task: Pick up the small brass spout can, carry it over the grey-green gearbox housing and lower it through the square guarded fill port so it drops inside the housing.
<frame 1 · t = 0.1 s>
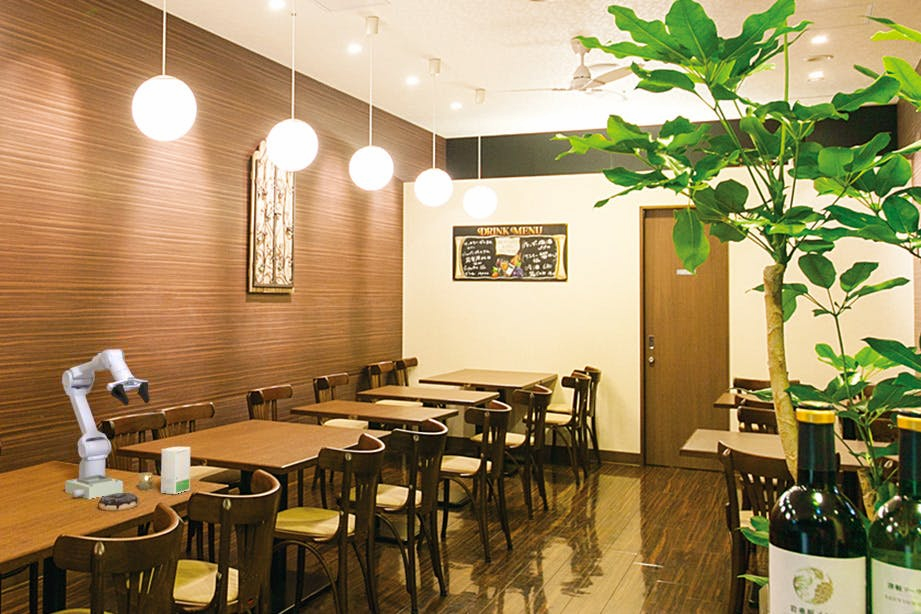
hand: (137, 402, 257), 32 cm above the table, tool tilted 50°, fingers open, 7 cm apart
donut: (119, 508, 239), on the table
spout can: (145, 489, 263), on the table
skincare box: (175, 492, 260), on the table
gearbox: (94, 492, 257), on the table
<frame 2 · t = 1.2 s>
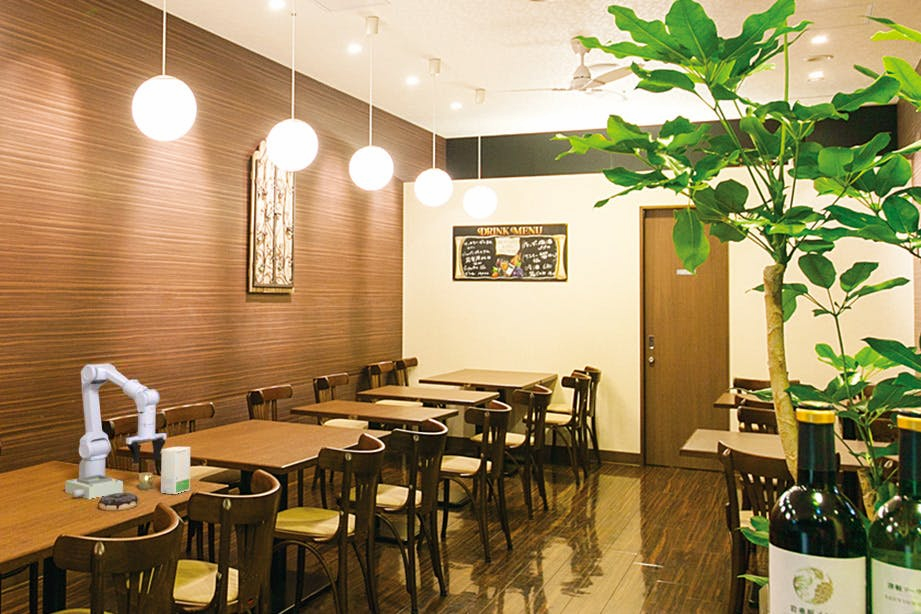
hand: (146, 461, 263), 10 cm above the table, tool pointing down, fingers open, 7 cm apart
nothing on the table moved.
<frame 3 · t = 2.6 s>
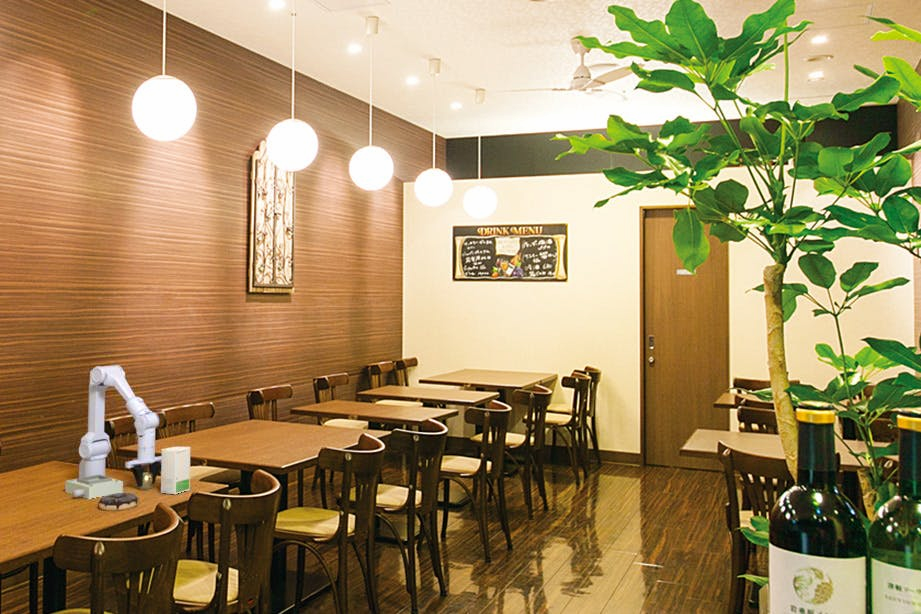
hand: (145, 484, 263), 1 cm above the table, tool pointing down, fingers closed on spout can, 4 cm apart
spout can: (145, 488, 263), on the table, touching gripper
everything else where it was.
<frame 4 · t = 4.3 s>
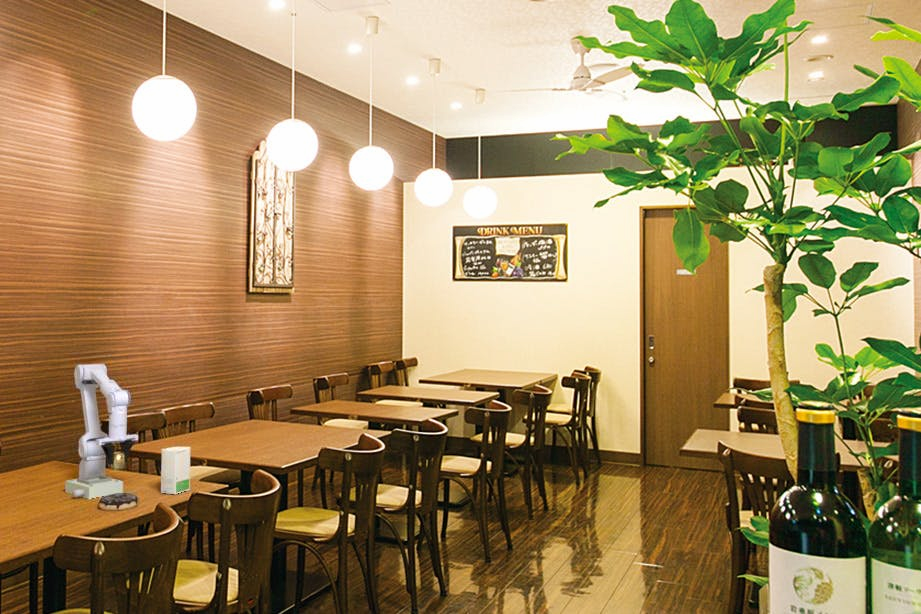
hand: (117, 463, 260), 10 cm above the table, tool pointing down, fingers closed on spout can, 4 cm apart
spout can: (117, 468, 260), point 8 cm above the table, touching gripper
everything else where it was.
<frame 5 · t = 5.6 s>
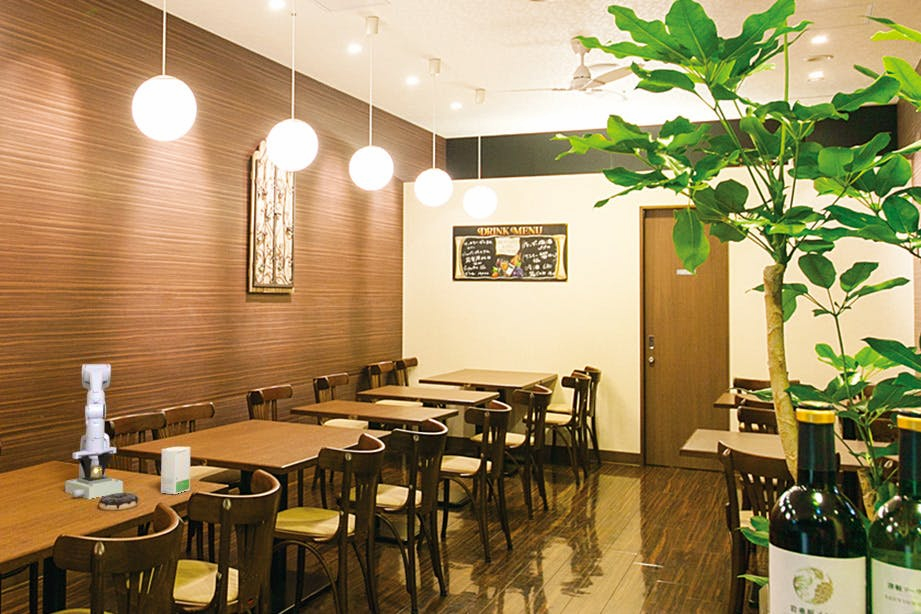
hand: (94, 476, 257), 6 cm above the table, tool pointing down, fingers closed on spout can, 4 cm apart
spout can: (95, 481, 257), point 4 cm above the table, touching gripper
everything else where it was.
when the fingers open (6 cm above the table, at t = 6.4 s): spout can drops 3 cm, resting on gearbox.
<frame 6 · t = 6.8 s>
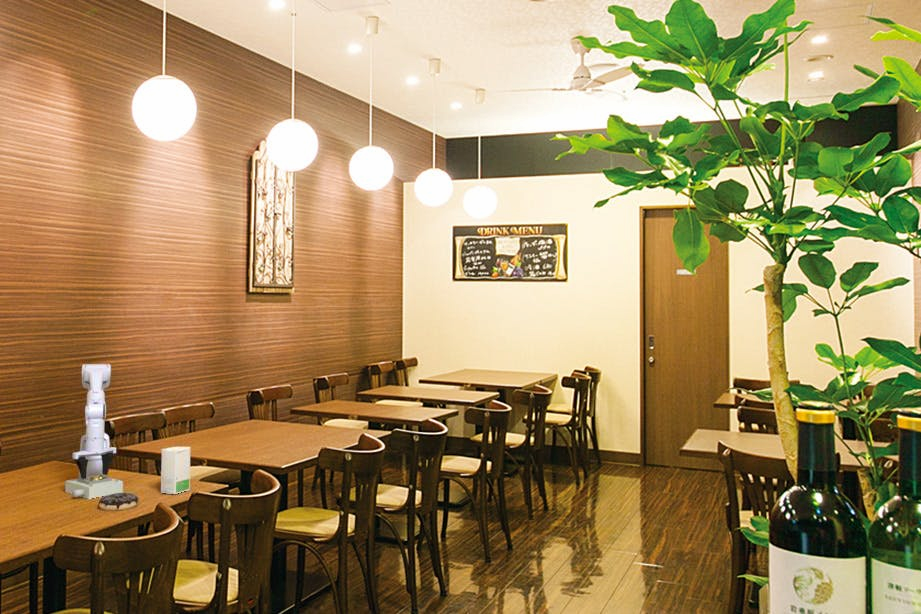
hand: (94, 476, 257), 6 cm above the table, tool pointing down, fingers open, 7 cm apart
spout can: (97, 491, 256), resting in gearbox, tilted 11°
everything else where it was.
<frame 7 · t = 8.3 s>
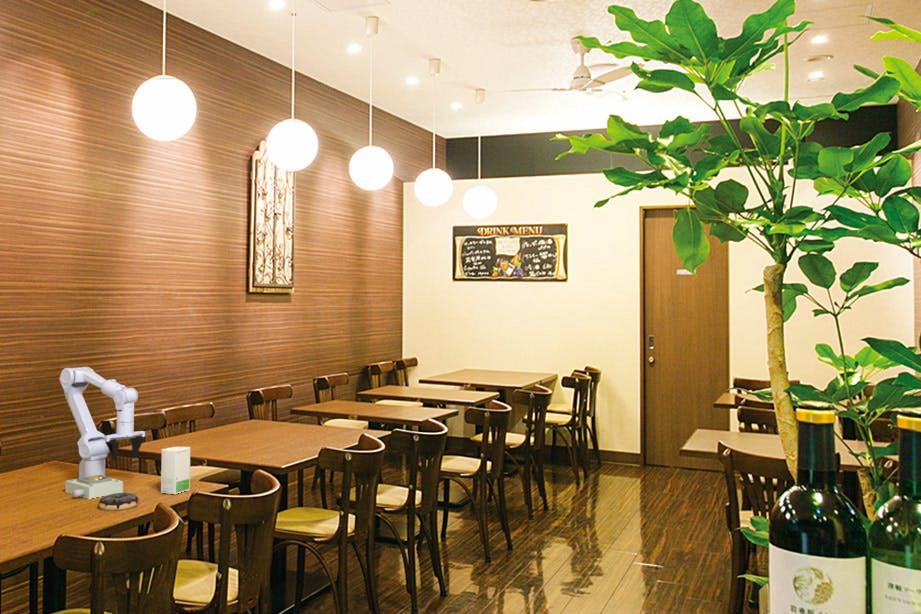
hand: (124, 458, 267), 10 cm above the table, tool pointing down, fingers open, 7 cm apart
nothing on the table moved.
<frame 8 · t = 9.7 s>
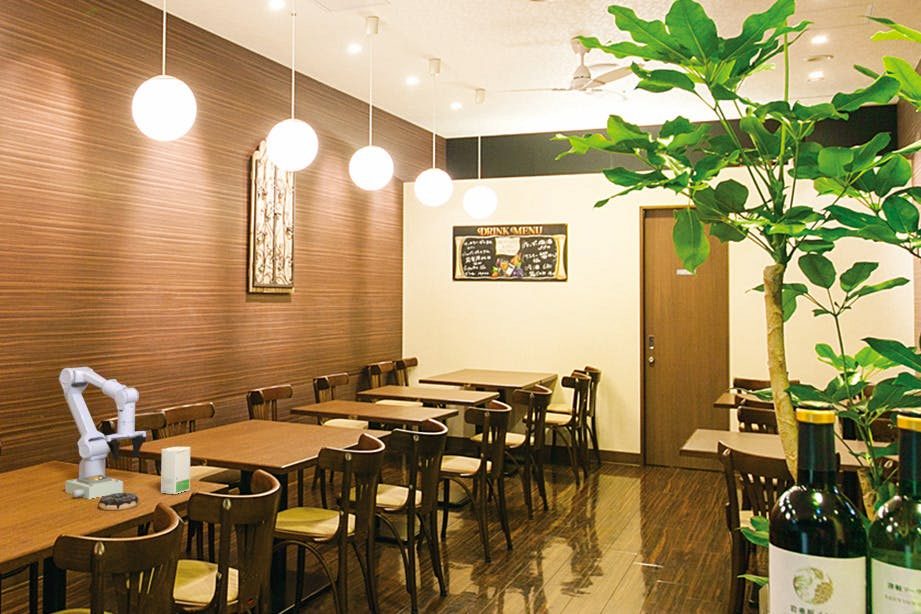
hand: (125, 458, 268), 10 cm above the table, tool pointing down, fingers open, 7 cm apart
nothing on the table moved.
at the end: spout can inside the target area on the gearbox (1.6 cm from its centre), point 0.4 cm above the gearbox's base; the gripper is holding nothing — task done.
